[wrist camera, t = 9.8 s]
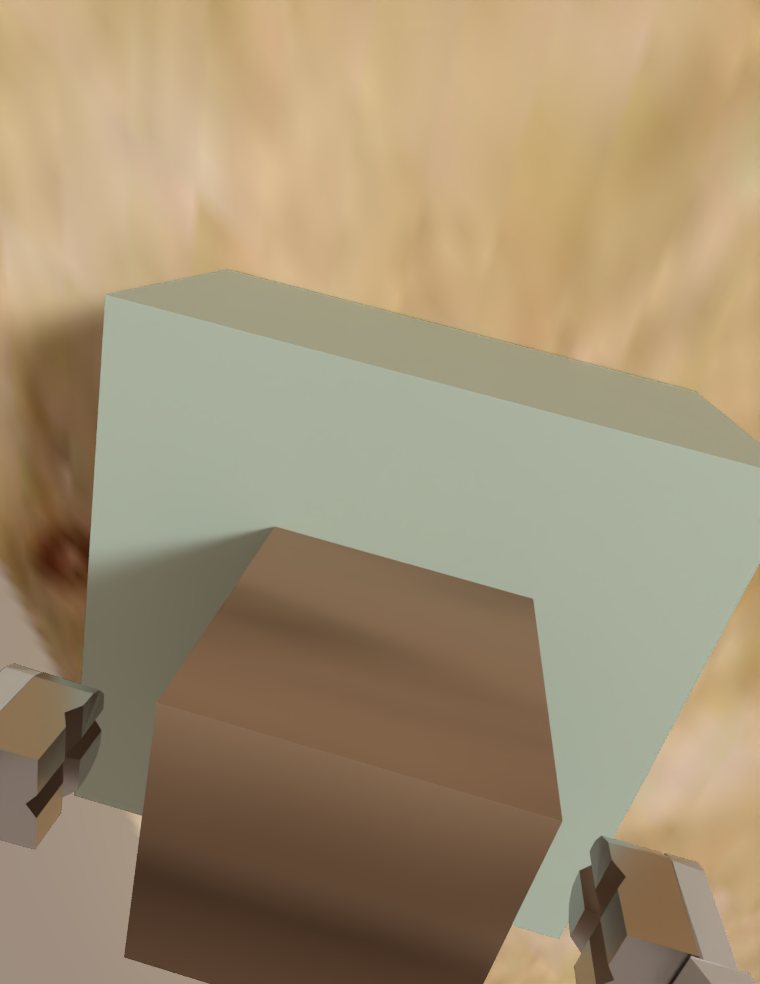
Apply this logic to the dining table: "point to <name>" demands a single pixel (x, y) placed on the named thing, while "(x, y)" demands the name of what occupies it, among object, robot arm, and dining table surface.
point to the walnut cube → (346, 778)
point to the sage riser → (412, 513)
